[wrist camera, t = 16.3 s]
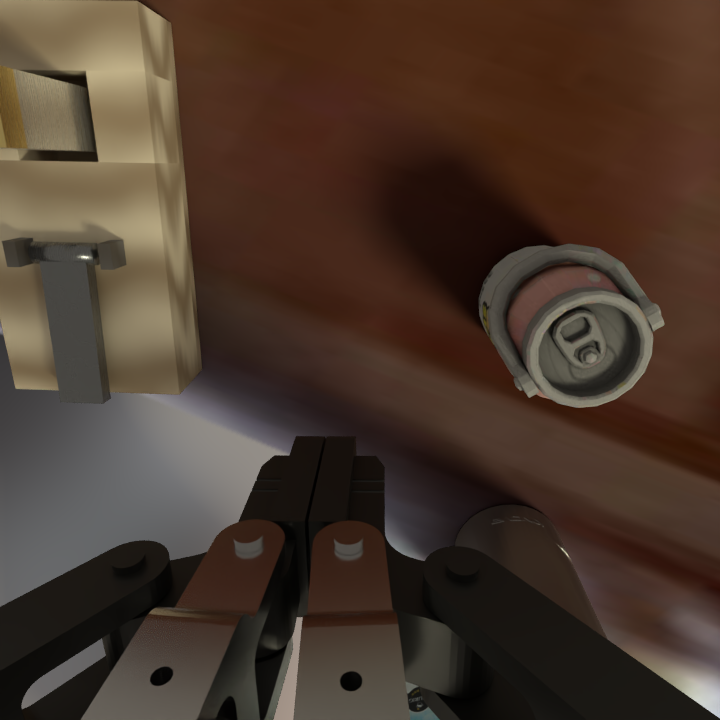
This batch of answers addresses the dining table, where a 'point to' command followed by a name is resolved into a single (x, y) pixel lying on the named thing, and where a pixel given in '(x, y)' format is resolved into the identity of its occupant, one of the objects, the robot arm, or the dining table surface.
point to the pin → (44, 114)
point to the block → (102, 195)
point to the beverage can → (569, 323)
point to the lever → (74, 318)
